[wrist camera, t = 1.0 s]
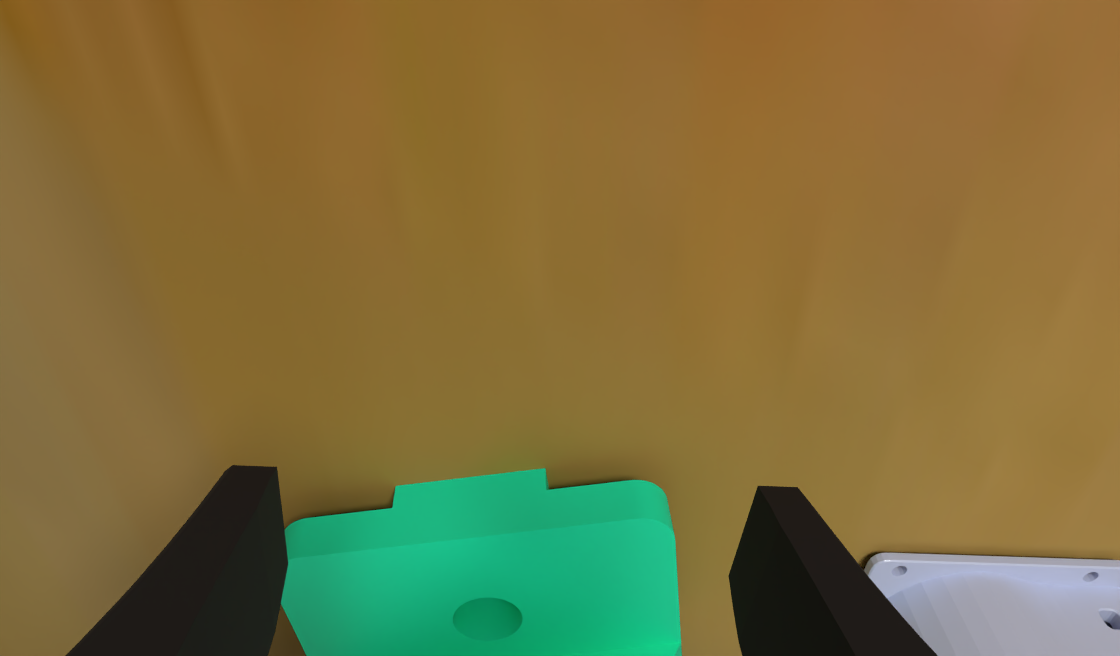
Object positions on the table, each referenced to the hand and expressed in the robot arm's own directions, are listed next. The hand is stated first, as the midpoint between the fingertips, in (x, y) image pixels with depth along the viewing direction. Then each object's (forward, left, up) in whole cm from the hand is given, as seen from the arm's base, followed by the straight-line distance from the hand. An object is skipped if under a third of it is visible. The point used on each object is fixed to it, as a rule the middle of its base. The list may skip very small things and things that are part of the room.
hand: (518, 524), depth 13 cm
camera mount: (0, +13, -11) cm, 17 cm away
